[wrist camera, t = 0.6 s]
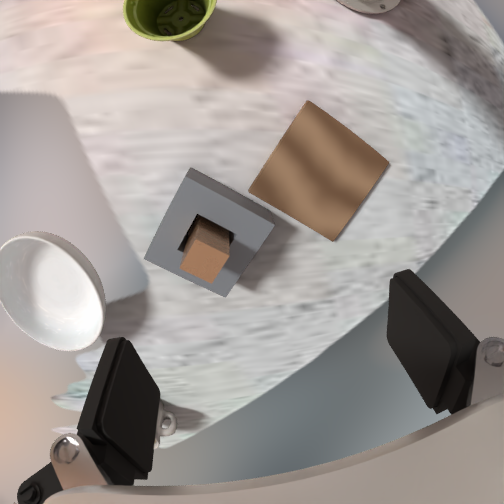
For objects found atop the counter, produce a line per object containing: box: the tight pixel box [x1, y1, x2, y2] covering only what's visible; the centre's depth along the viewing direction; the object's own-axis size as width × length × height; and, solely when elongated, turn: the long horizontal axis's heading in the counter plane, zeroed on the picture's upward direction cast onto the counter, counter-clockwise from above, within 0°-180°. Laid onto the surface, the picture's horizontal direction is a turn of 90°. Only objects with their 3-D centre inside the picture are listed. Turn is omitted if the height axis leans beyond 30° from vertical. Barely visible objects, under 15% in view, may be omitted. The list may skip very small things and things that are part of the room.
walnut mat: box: [248, 101, 389, 242], centre depth 39 cm, size 14×14×1 cm
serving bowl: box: [0, 231, 106, 351], centre depth 41 cm, size 21×21×7 cm
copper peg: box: [180, 215, 230, 284], centre depth 37 cm, size 4×4×10 cm
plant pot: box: [123, 0, 217, 41], centre depth 25 cm, size 9×9×9 cm
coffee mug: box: [154, 400, 177, 449], centre depth 55 cm, size 13×10×10 cm
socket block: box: [144, 167, 275, 297], centre depth 39 cm, size 12×12×5 cm
